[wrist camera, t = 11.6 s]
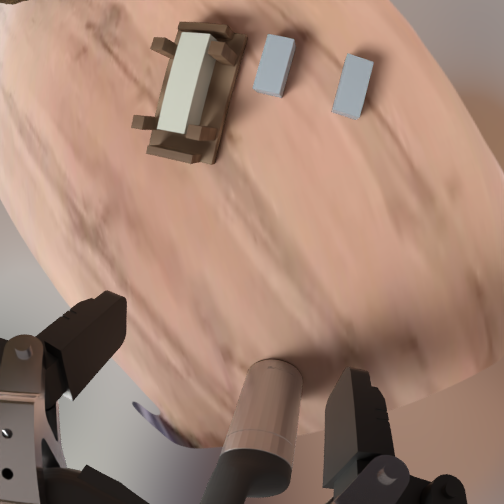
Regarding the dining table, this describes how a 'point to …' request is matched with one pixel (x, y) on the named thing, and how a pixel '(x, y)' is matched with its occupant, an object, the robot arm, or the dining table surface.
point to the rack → (216, 104)
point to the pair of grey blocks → (278, 66)
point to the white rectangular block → (187, 83)
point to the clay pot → (11, 1)
